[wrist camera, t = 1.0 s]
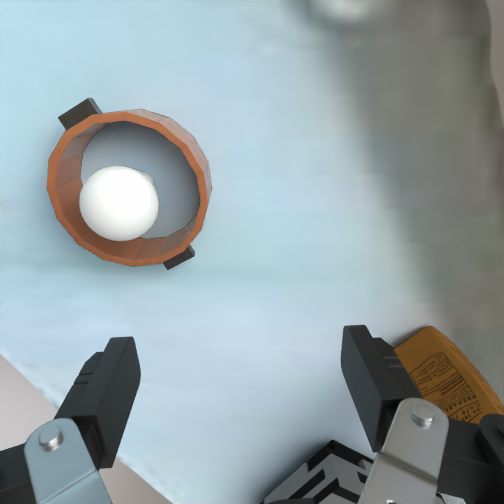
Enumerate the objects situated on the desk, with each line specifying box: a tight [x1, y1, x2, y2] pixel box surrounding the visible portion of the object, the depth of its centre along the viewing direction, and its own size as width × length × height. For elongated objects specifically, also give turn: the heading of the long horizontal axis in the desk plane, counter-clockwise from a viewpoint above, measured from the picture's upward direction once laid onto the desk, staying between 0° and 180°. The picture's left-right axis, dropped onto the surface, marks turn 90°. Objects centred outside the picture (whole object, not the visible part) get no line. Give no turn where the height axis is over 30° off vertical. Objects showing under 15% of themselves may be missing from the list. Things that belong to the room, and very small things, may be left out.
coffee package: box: [393, 326, 504, 424], centre depth 38 cm, size 10×12×22 cm
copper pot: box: [47, 98, 212, 270], centre depth 34 cm, size 16×14×6 cm
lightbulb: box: [79, 166, 159, 241], centre depth 31 cm, size 6×6×11 cm
